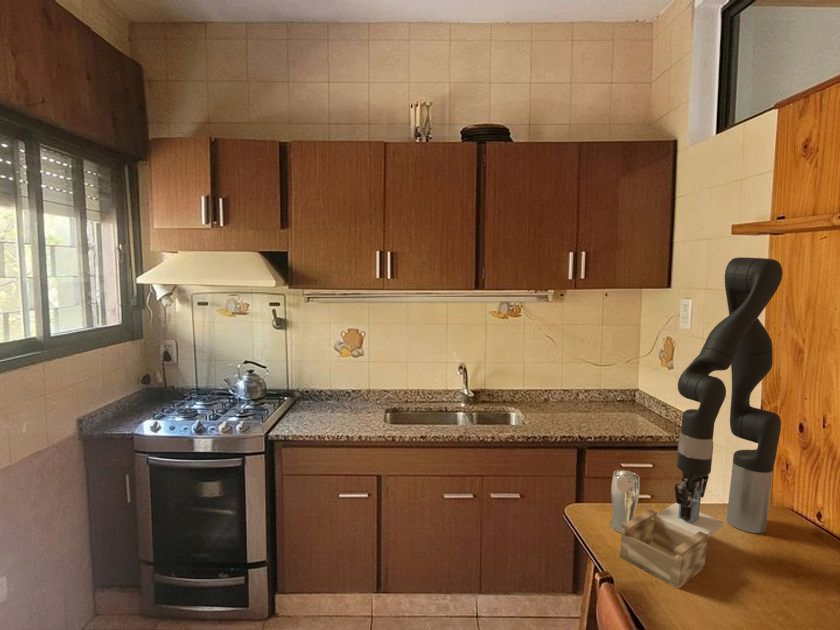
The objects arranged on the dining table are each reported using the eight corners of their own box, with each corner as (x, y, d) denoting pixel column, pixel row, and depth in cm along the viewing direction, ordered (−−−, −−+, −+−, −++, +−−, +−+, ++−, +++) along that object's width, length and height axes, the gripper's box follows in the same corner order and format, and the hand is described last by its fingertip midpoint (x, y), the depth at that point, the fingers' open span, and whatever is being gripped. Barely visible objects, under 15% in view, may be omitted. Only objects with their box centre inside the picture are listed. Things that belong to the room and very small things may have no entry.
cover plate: (675, 506, 132) (677, 485, 131) (723, 526, 122) (725, 503, 122) (653, 520, 125) (655, 497, 124) (702, 542, 115) (704, 517, 114)
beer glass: (640, 528, 131) (644, 475, 130) (629, 538, 127) (634, 483, 125) (614, 518, 136) (619, 467, 135) (603, 527, 132) (607, 474, 130)
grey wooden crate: (647, 539, 126) (649, 509, 125) (704, 567, 115) (707, 534, 114) (619, 557, 118) (622, 524, 117) (678, 588, 107) (681, 553, 106)
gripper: (692, 441, 129) (686, 503, 130) (666, 453, 120) (660, 518, 122) (723, 450, 123) (716, 515, 125) (698, 463, 114) (691, 532, 116)
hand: (688, 516), depth 123 cm, fingers closed on cover plate, 3 cm apart
